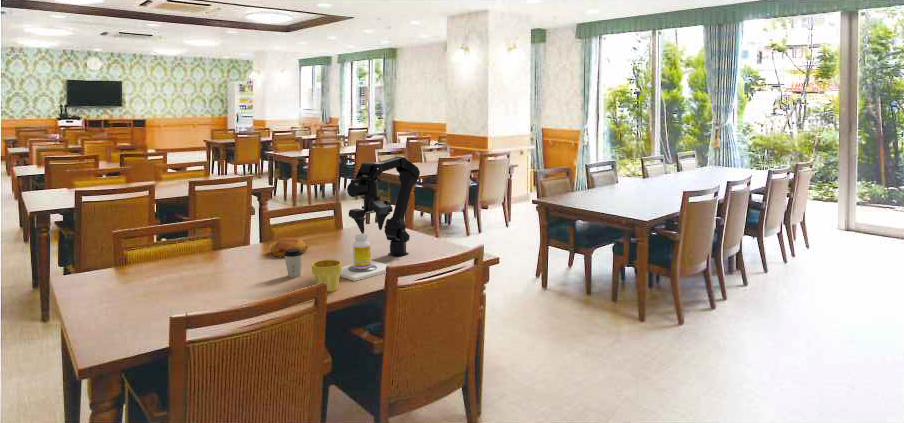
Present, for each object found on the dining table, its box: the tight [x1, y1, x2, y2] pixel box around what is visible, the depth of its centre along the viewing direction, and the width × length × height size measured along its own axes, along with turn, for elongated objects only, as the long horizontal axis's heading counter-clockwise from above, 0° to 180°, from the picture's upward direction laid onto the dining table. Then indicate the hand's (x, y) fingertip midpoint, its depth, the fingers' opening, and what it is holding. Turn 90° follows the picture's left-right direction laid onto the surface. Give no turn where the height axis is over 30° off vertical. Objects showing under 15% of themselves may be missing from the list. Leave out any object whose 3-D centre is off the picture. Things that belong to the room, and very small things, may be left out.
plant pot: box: [311, 259, 343, 292], centre depth 221 cm, size 10×10×10 cm
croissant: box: [270, 237, 308, 258], centre depth 273 cm, size 14×16×8 cm
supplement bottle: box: [352, 233, 372, 269], centre depth 243 cm, size 7×7×13 cm
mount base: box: [340, 260, 388, 282], centre depth 245 cm, size 20×16×2 cm
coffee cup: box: [284, 249, 304, 279], centre depth 239 cm, size 7×7×10 cm
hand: (371, 231), depth 255 cm, fingers open, 9 cm apart
